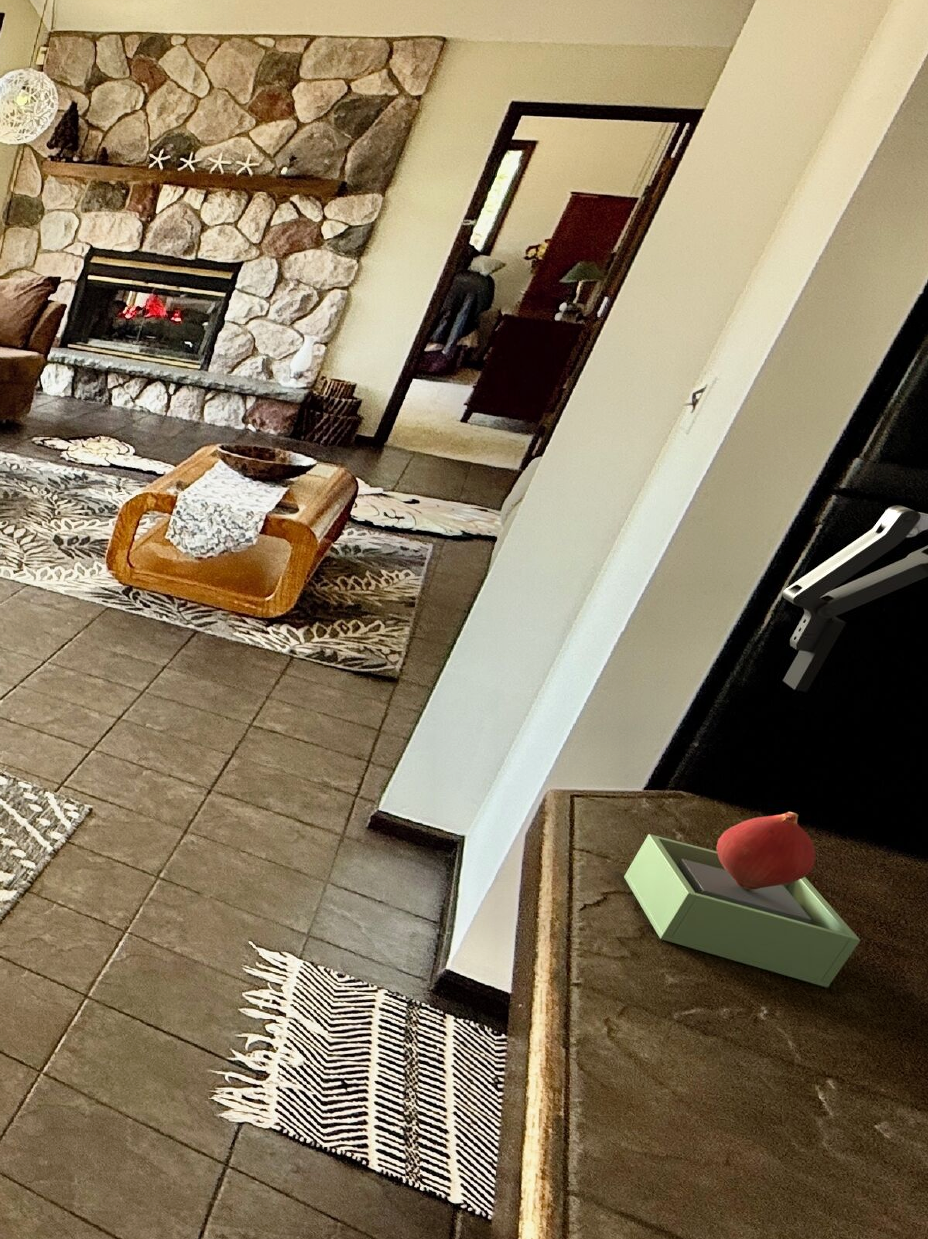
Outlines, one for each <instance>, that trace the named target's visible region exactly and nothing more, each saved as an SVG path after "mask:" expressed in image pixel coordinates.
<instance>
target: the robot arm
mask: <svg viewBox="0 0 928 1239" xmlns="http://www.w3.org/2000/svg"><path fill="white" fill-rule="evenodd" d="M926 530H927V531H928V513H924V512H919V511H917V510H914V509H911V508H908V507H906V506H903V505H898V504H897V505H896V504H895V505H892V506H890V507H888V508H887V509H885V511H884V513H883V514H882V515H881V517H880V518H879V519H878V521H877V522H876V524H874V526H873V527H872V528H871V529H870V530H868V531H867V532H866V533H864V534H863V535H861V536H859V538H857V539H856V540H854V541H852V542H851V543H850V544H848V545H847V546H846V547H844V548H843V549H841V550H840V551H838V552H836V553H835V554H834V555H833V556H831V557H829V558H828V559H827V560H825V561H824V562H822V563H820V564H819V565H818V566H817V567H815V568H814V569H812V570H811V571H809V572H808V573H806V574H805V575H804V576H801V577H800V578H799V579H798V580H797V581H795V582H793V583H792V584H790V585H789V586H788V587H786V588H785V589H784V590H783V591H782V592H781V593H782V595H781V596H782V597H783V598H784V599H785V600H787V601H788V602H790V603H792V604H793V605H795V606H796V607H800V608H801V609H803V612H804V613H803V615H802V617H801V619H800V620H799V622H798V625H797V626H796V628H795V630H794V632H793V634H792V635H791V637H790V639H789V645H790V647H792V648H793V649H795V650H796V651H798V653H797V655H796V656H795V658H794V660H793V662H792V663H791V665H790V667H789V669H788V670H787V672H786V674H785V676H784V678H783V679H782V682H784V683H785V684H786V685H787V686H789V687H790V688H792V689H793V690H794V691H799V692H804V693H807V692H808V690H809V689H810V687H811V685H812V683H813V682H814V680H815V678H816V677H817V675H818V673H819V671H820V670H821V668H822V666H823V664H824V663H825V661H826V659H827V657H828V655H829V654H830V652H831V650H832V648H834V645H835V644H836V642H837V640H838V638H839V636H840V635H841V633H842V631H843V629H844V627H845V626H846V625H847V622H845V621H844V620H842V619H840V618H838V617H837V616H840V615H842V614H844V613H847V612H849V611H851V610H853V609H855V608H858V607H860V606H863V605H865V604H867V603H869V602H871V601H874V600H876V599H879V598H882V597H884V596H886V595H888V594H891V593H893V592H895V591H898V590H900V589H902V588H905V587H907V586H909V585H912V584H914V583H916V582H918V581H921V580H923V579H926V578H928V545H926V546H924V547H922V548H919V549H917V550H914V551H912V552H911V553H909V554H908V555H907V556H906V557H905V558H903V559H902V558H901V559H900V560H898V561H895V562H893V563H891V564H889V565H886V566H884V567H882V568H879V569H877V570H876V571H873V572H870V573H869V574H865V575H864V576H862V577H859V578H857V579H855V580H852V581H850V582H848V583H846V584H844V585H841V584H843V583H844V582H845V581H847V580H849V579H850V578H851V577H853V576H854V575H856V574H857V573H859V572H860V571H862V570H864V569H865V568H866V567H867V566H869V565H870V564H872V563H874V562H875V561H876V560H878V559H879V558H881V557H882V556H884V555H886V554H887V553H888V552H890V551H891V550H893V549H894V548H896V547H897V546H898V545H900V544H901V542H903V541H904V540H905V539H906V538H913V537H916V536H917V535H919V534H920V533H921V532H924V531H926ZM840 585H841V586H840ZM838 586H839V587H838ZM836 587H837V588H836Z"/></svg>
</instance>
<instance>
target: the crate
mask: <svg viewBox="0 0 928 1239" xmlns="http://www.w3.org/2000/svg"><path fill="white" fill-rule="evenodd" d="M681 859H686V860H689V861H693V862H697V863H701V864H704V865H708V866H712V867H716V868H720V869H723V870H725V869H724V867H723V865H722V864H721V862H720V860H719V857H718V853H717V850H713V849H708V848H706V847H701V846H697V845H694V844H689V843H685V842H682V841H677V840H674V839H670V838H667V837H663V836H658V835H654V834H650V833H648V834H647V836H646V838H645V840H644V841H643V843H642V845H641V847H640V848H639V850H638V852H637V853H636V855H635V857H634V859H633V860H632V862H631V864H630V865H629V867H628V869H627V871H626V873H625V874H624V875H623V878H624V880H625V881H626V884H628V887H629V888H630V890H631V891H632V893H633V895H634V896H635V898H636V900H637V902H638V903H639V905H640V907H641V909H642V911H643V912H644V913H645V915H646V917H647V919H648V921H649V922H650V924H651V926H652V927H653V930H654V931H655V932H656V934H657V936H658V938H659V939H660V940H661V941H665V942H669V943H672V944H676V945H679V946H683V947H686V948H690V949H694V950H695V951H701V952H704V953H707V954H709V955H713V956H717V957H720V958H724V959H728V960H730V961H734V962H737V963H741V964H745V965H748V966H751V967H755V968H758V969H762V970H765V971H769V972H771V973H775V974H779V975H782V976H786V977H788V978H789V977H790V978H792V979H797V980H800V981H803V982H806V983H810V984H812V985H813V984H814V985H817V986H820V987H824V988H828V989H829V987H830V985H831V983H832V982H833V981H834V979H835V978H836V976H837V975H838V974H839V972H840V971H841V969H842V968H843V966H844V965H845V964H846V962H847V961H848V959H849V958H850V957H851V955H852V953H853V952H854V950H855V949H856V948H857V946H858V945H859V943H860V942H861V939H860V938H859V937H858V936H857V934H856V933H855V932H854V931H853V930H852V929H851V927H850V926H849V925H848V924H847V923H846V922H845V921H844V920H843V918H842V917H841V916H840V915H839V914H838V912H836V911H835V909H834V908H833V907H832V906H831V905H830V903H828V901H827V900H826V899H825V898H824V897H823V895H822V894H821V893H820V892H819V891H818V890H817V888H815V887H814V885H813V884H812V883H811V882H810V881H809V880H808V878H807V877H806V876H805V877H804V878H802V879H799V880H797V881H795V882H792V883H787V884H782V885H783V886H784V887H785V888H786V889H787V891H788V892H789V893H790V894H791V895H792V897H793V898H794V899H795V900H796V901H797V903H798V904H799V905H800V906H801V908H802V909H803V910H804V911H805V912H806V914H807V915H808V916H809V917H810V918H811V922H810V923H809V924H808V923H804V922H800V921H797V920H793V919H789V918H786V917H782V916H778V915H775V914H771V913H767V912H764V911H760V910H757V909H753V908H749V907H746V906H742V905H738V904H735V903H731V902H727V901H724V900H720V899H716V898H713V897H709V896H705V895H702V894H698V893H695V892H694V890H693V889H692V887H691V886H690V884H689V883H688V881H687V880H686V878H685V877H684V876H683V874H682V873H681V871H680V870H679V868H678V867H677V865H678V864H679V862H680V860H681Z"/></svg>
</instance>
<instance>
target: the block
mask: <svg viewBox="0 0 928 1239" xmlns="http://www.w3.org/2000/svg"><path fill="white" fill-rule="evenodd" d="M677 867H678V868H679V870H680V871H681V873H682V874H683V876H684V877H685V878H686V880H687V881H688V883H689V884H690V886H691V887H692V889H693V890H694V892H695V893H698V894H702V895H705V896H709V897H713V898H716V899H720V900H724V901H727V902H731V903H735V904H738V905H742V906H746V907H749V908H753V909H757V910H760V911H764V912H767V913H771V914H775V915H778V916H782V917H786V918H789V919H793V920H797V921H800V922H804V923H808V924H809V923H810V922H811V918H810V917H809V916H808V915H807V914H806V912H805V911H804V910H803V909H802V908H801V906H800V905H799V904H798V903H797V901H796V900H795V899H794V898H793V897H792V895H791V894H790V893H789V892H788V891H787V889H786V888H785V887H784V886H783V885H777V886H770V887H764V888H759V889H753V890H750V889H745V888H743V887H740V886H739V885H738V884H737V883H736V882H735V880H734V879H733V878H732V877H731V876H730V874H729V873H728V872H727V871H726V870H723V869H720V868H716V867H712V866H708V865H704V864H701V863H697V862H693V861H689V860H686V859H681V860H680V862H679V864H678V865H677Z"/></svg>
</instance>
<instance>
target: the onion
mask: <svg viewBox="0 0 928 1239" xmlns="http://www.w3.org/2000/svg"><path fill="white" fill-rule="evenodd" d="M798 819H799V814H797V813H796V812H792V811H787V812H785V813H781V814H775V815H768V816H767V815H765V816H757V817H754V818H749V819H746V820H743V821H741V822H739V823H737V824H735V825H733V826H732V827H729V828H728V829H726V830H725V831H723V833H722V834H721V835H720V836H719V837H718V840H717V844H716V847H715V848H716V851H717V853H718V857H719V860H720V862H721V864H722V865H723V867H724V869H725V870H726V871H727V872H728V873H729V874H730V876H731V877H732V878H733V879H734V880H735V882H736V883H737V884H738V885H739V886H740V887H743V888H745V889H750V890H753V889H759V888H764V887H770V886H777V885H782V884H787V883H792V882H795V881H797V880H799V879H802V878H804V877H806V876H807V875H808V874H810V872H812V870H813V867H814V865H815V863H816V849H815V845H814V842H813V840H812V838H811V837H810V835H809V834H808V833H807V832H806V831H805V830H804V829H803V828H802V827H801V826H800V825H799V823H798Z"/></svg>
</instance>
